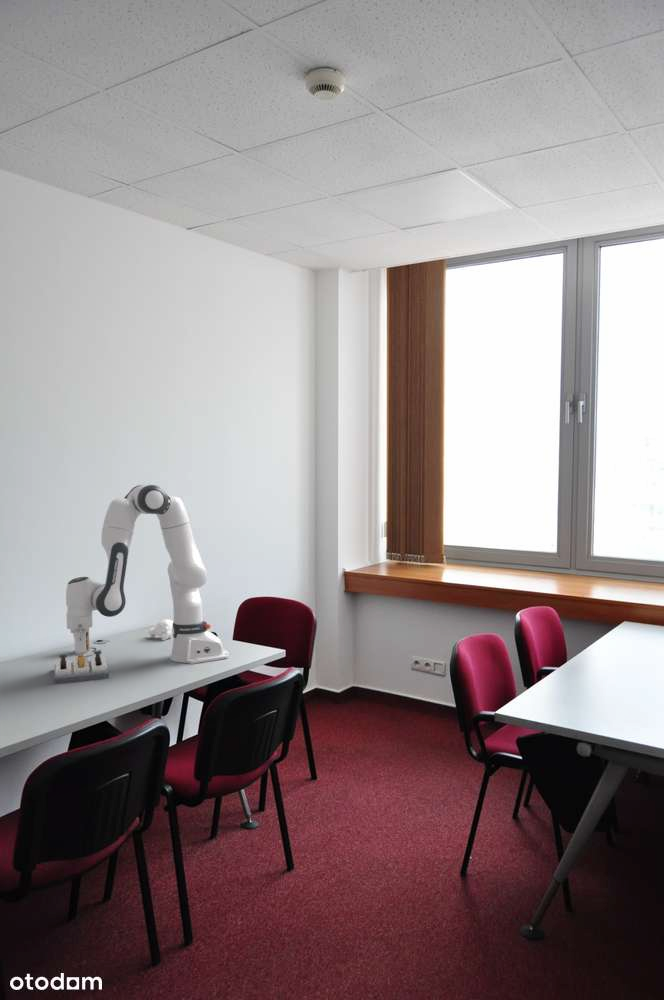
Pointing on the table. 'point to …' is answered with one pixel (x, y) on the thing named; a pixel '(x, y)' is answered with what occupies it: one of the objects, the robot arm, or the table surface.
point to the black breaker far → (63, 660)
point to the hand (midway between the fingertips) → (80, 660)
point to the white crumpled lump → (162, 629)
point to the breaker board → (81, 670)
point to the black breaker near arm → (97, 656)
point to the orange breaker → (81, 660)
